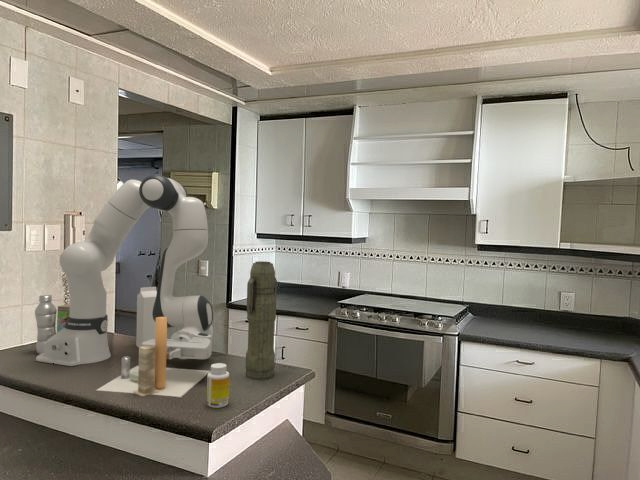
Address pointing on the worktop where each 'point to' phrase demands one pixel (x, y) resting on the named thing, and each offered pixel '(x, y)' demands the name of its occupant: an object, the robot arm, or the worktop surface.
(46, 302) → the plastic bottle
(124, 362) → the post
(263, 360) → the thermos
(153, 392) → the post
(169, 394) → the base board
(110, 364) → the worktop surface
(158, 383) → the orange upright dowel
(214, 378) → the supplement bottle
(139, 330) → the milk
